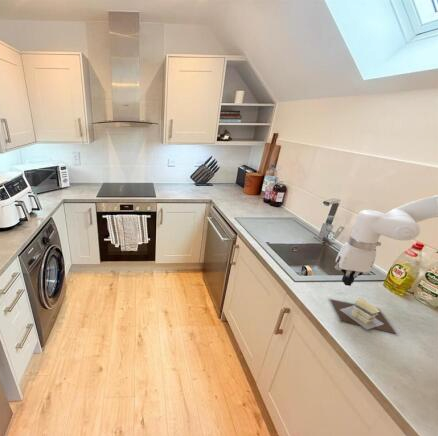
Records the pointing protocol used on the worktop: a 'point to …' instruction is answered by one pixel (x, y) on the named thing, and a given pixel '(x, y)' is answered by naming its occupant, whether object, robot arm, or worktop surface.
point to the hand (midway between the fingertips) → (346, 283)
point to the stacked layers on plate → (363, 314)
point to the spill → (347, 319)
